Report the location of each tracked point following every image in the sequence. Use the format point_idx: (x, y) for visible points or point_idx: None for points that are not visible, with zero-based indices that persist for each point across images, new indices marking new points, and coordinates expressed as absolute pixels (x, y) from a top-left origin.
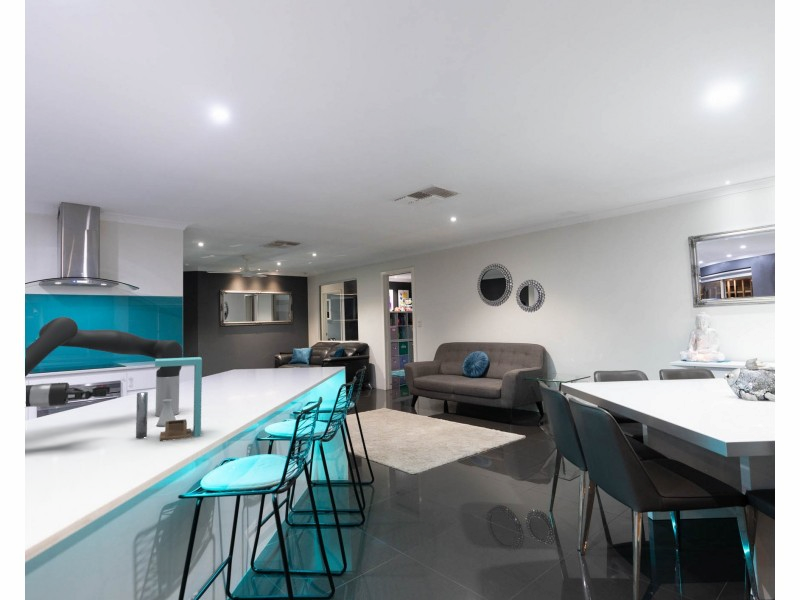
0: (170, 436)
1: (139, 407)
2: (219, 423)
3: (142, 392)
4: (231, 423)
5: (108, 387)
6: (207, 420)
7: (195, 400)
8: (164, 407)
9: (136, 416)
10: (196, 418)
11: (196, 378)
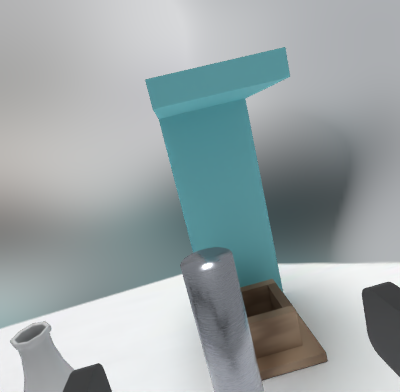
0: (302, 333)
1: (247, 325)
2: (156, 296)
3: (190, 263)
4: (171, 280)
5: (98, 374)
6: (100, 325)
7: (265, 206)
8: (46, 362)
9: (244, 383)
10: (274, 253)
11: (253, 141)
